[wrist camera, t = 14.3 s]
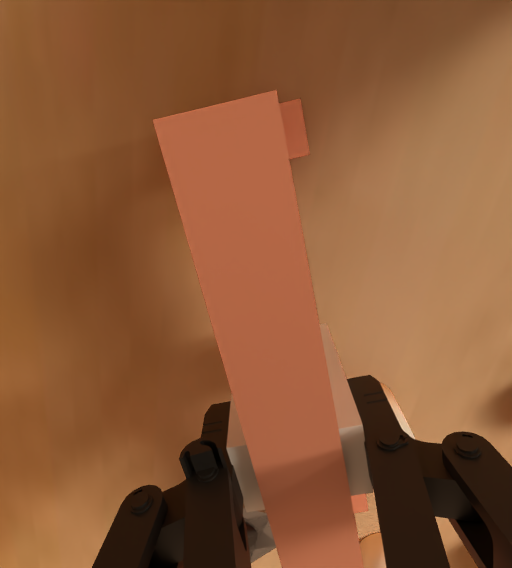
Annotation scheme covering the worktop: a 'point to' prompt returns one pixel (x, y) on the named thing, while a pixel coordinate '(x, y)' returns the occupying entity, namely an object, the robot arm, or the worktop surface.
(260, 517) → the nut
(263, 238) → the salmon pink archway
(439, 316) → the worktop surface
